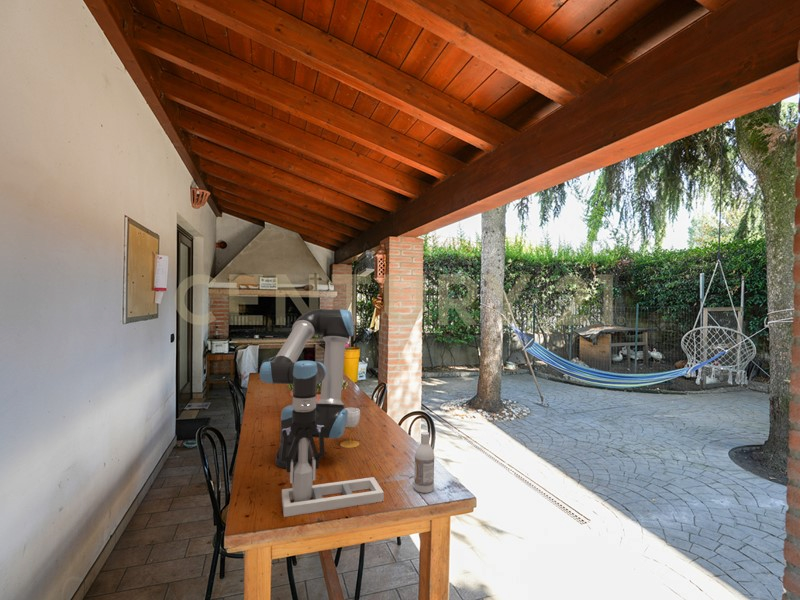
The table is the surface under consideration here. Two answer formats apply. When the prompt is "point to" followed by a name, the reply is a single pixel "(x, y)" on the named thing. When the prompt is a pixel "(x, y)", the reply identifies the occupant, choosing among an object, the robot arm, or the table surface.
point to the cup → (351, 426)
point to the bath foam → (424, 466)
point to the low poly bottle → (302, 473)
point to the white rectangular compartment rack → (333, 502)
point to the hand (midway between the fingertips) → (302, 479)
